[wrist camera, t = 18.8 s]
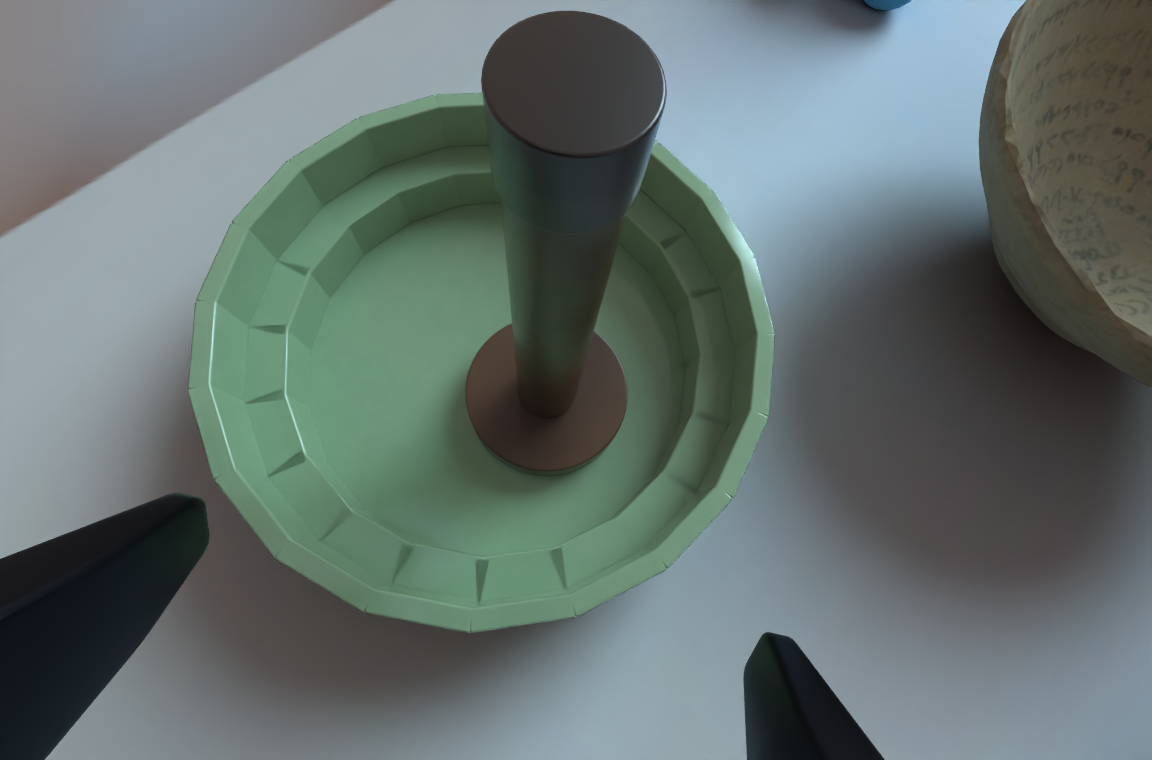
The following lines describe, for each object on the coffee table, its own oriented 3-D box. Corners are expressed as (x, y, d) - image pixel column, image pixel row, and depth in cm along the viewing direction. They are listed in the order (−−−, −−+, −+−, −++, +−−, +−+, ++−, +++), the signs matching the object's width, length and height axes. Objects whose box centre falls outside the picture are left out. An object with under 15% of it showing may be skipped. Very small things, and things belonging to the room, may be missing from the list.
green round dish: (475, 734, 17) (456, 796, 13) (169, 349, 20) (69, 293, 15) (812, 382, 21) (882, 339, 17) (521, 111, 24) (519, 16, 20)
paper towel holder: (443, 442, 19) (228, 181, 6) (504, 307, 21) (453, -138, 7) (593, 499, 19) (741, 371, 5) (642, 358, 20) (847, -3, 7)
